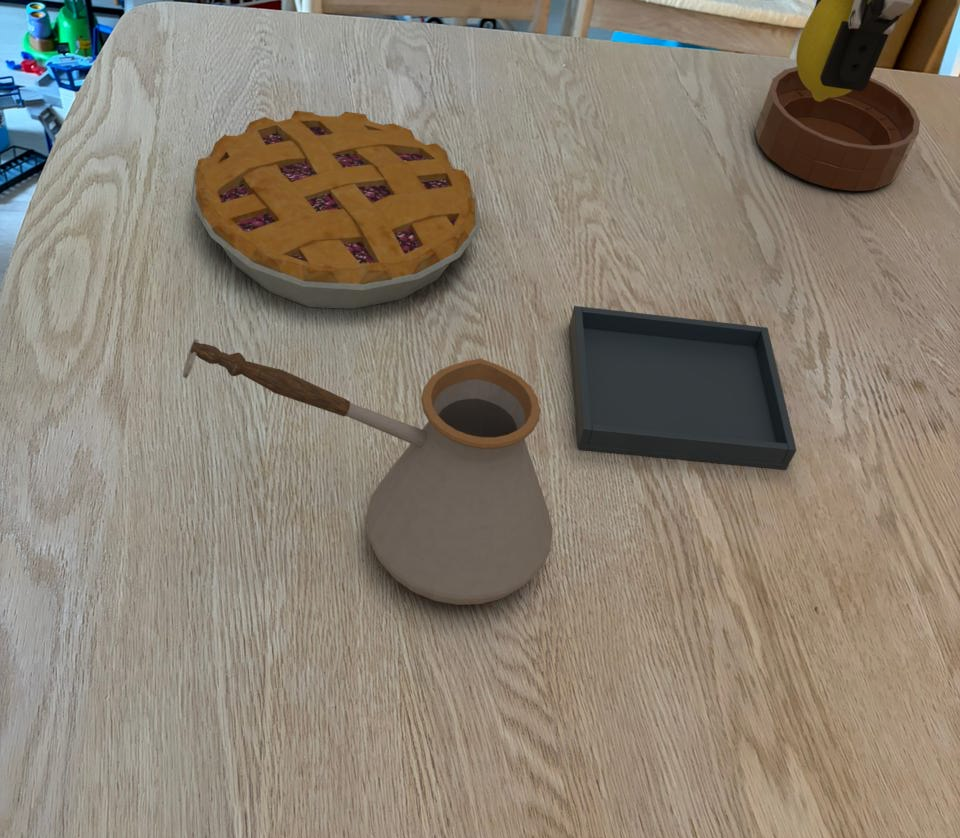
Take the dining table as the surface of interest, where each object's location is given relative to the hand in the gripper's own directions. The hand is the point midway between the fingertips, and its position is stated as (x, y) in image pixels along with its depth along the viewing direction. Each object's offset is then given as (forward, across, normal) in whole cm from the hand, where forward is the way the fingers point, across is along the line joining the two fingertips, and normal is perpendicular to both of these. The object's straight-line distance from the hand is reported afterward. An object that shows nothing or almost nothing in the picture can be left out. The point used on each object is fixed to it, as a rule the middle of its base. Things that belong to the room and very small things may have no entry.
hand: (834, 60), depth 75 cm
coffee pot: (+18, -34, +29) cm, 48 cm away
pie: (+18, -2, +34) cm, 39 cm away
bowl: (+18, +21, -10) cm, 29 cm away
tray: (+18, -16, +8) cm, 25 cm away
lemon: (+3, 0, 0) cm, 3 cm away
